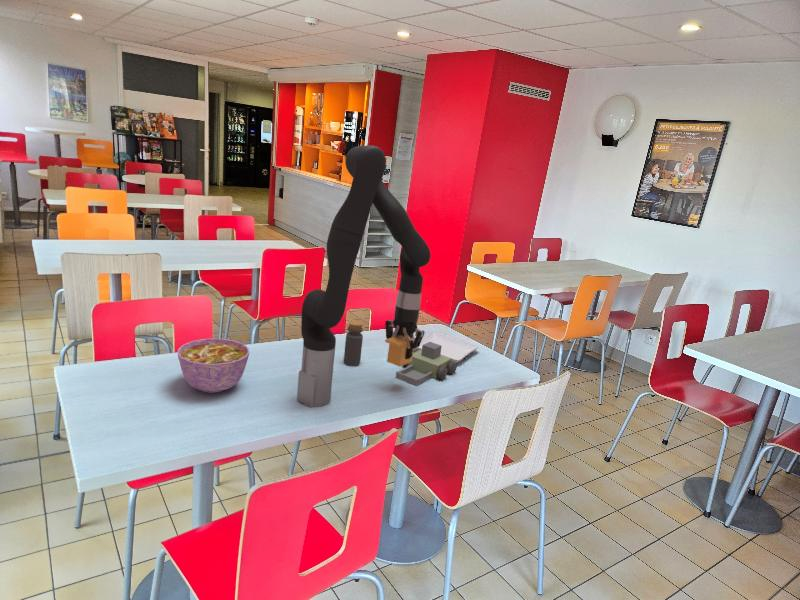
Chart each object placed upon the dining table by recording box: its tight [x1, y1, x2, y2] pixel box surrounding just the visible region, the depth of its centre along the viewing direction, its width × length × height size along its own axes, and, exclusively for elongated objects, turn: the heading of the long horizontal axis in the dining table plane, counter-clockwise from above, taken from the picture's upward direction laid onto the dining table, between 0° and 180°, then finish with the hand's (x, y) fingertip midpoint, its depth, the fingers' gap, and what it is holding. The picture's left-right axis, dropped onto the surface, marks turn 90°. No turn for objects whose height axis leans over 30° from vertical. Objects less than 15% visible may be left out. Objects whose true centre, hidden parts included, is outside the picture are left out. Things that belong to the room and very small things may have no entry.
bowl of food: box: [177, 338, 251, 394], centre depth 157 cm, size 20×20×12 cm
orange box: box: [384, 336, 416, 368], centre depth 169 cm, size 10×5×8 cm, turn 145°
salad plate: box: [414, 331, 480, 364], centre depth 209 cm, size 21×21×3 cm
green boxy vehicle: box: [395, 342, 458, 387], centre depth 186 cm, size 20×16×9 cm
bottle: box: [343, 320, 364, 367], centre depth 186 cm, size 6×6×15 cm
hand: (400, 355), depth 170 cm, fingers closed on orange box, 5 cm apart
